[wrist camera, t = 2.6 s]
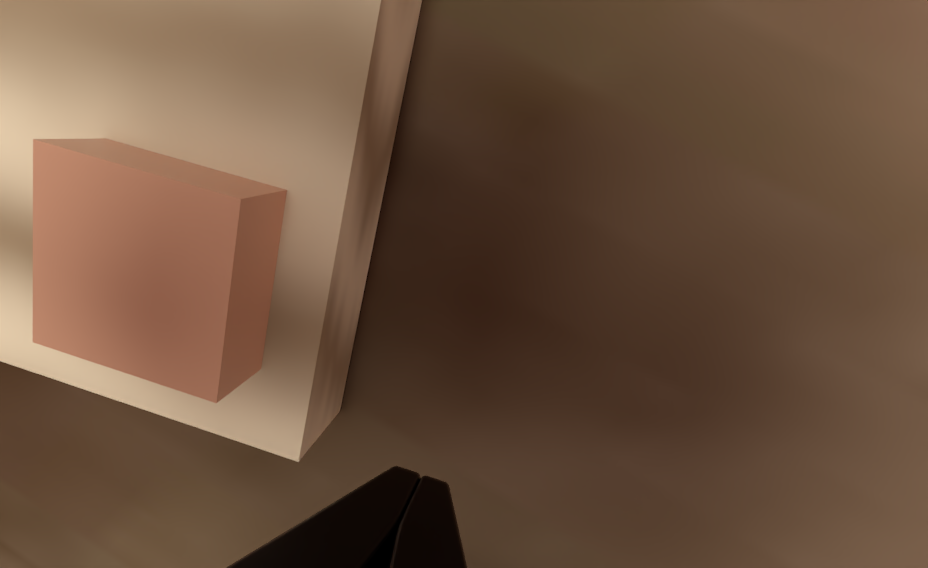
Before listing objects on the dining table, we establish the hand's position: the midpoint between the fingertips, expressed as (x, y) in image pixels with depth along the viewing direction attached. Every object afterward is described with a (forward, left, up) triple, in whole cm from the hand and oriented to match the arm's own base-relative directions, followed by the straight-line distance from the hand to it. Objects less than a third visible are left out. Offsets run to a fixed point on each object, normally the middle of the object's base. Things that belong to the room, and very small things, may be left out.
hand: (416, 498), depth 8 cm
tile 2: (0, +8, -6) cm, 10 cm away
